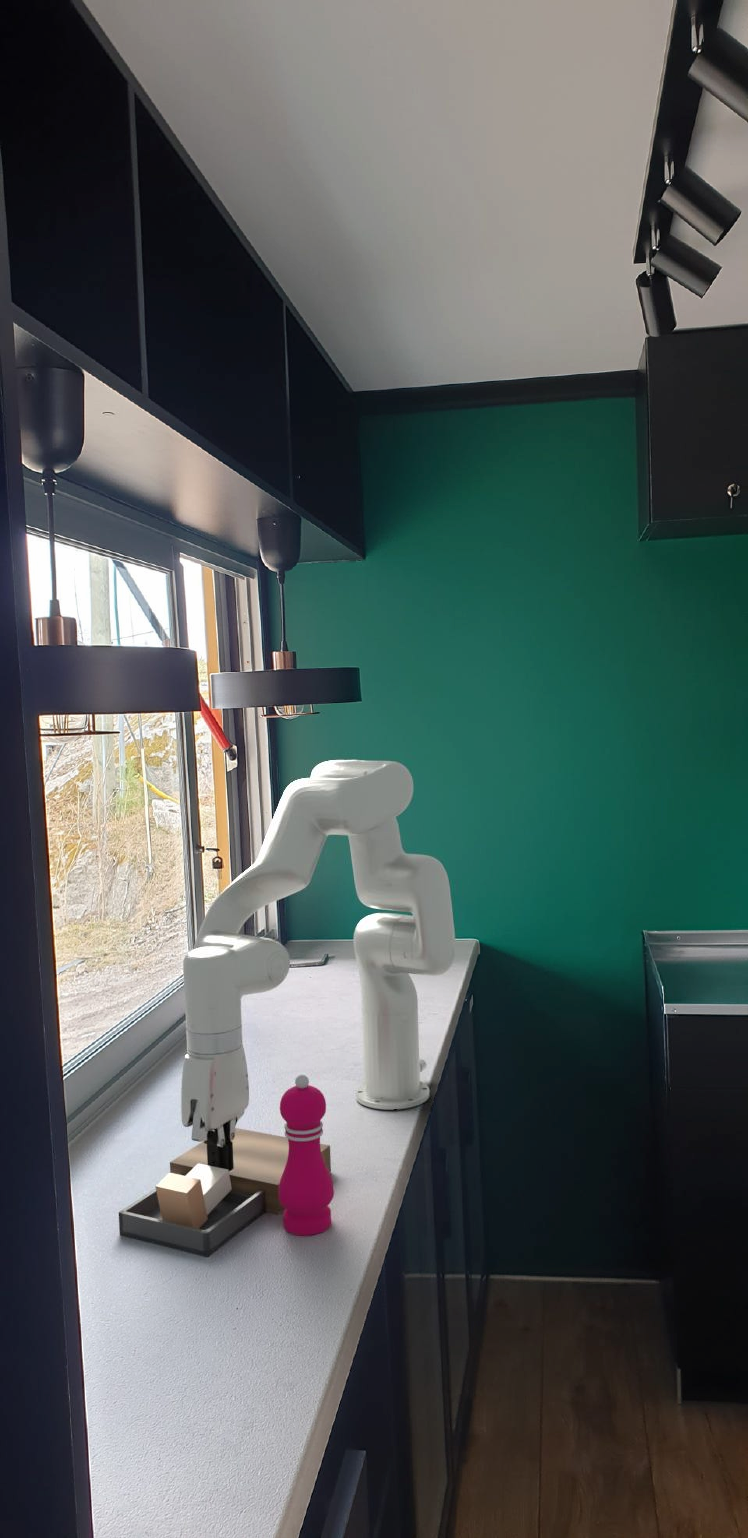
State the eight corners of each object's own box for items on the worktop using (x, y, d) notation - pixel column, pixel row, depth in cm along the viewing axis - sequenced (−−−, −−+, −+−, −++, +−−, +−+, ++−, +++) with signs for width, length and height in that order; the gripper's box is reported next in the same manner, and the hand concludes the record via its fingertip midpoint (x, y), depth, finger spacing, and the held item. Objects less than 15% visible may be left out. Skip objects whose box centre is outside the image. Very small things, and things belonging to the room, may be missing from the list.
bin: (181, 1193, 156) (180, 1172, 156) (265, 1211, 150) (264, 1190, 149) (119, 1234, 145) (118, 1212, 144) (207, 1256, 138) (206, 1233, 138)
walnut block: (228, 1151, 170) (227, 1126, 169) (330, 1172, 161) (330, 1145, 161) (171, 1189, 157) (169, 1162, 157) (279, 1213, 149) (278, 1184, 149)
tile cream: (201, 1182, 153) (198, 1163, 152) (231, 1188, 151) (228, 1169, 150) (175, 1208, 148) (171, 1189, 147) (206, 1216, 145) (202, 1196, 145)
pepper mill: (305, 1206, 151) (300, 1062, 149) (346, 1221, 146) (341, 1072, 145) (268, 1227, 145) (262, 1077, 144) (308, 1243, 141) (303, 1089, 139)
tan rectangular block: (169, 1172, 146) (155, 1185, 144) (200, 1179, 144) (186, 1193, 141) (177, 1211, 148) (163, 1225, 145) (207, 1219, 145) (194, 1233, 143)
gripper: (223, 1020, 159) (229, 1145, 161) (157, 1052, 146) (164, 1187, 148) (268, 1026, 156) (273, 1153, 157) (204, 1059, 143) (211, 1198, 144)
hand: (220, 1169), depth 152 cm, fingers closed
